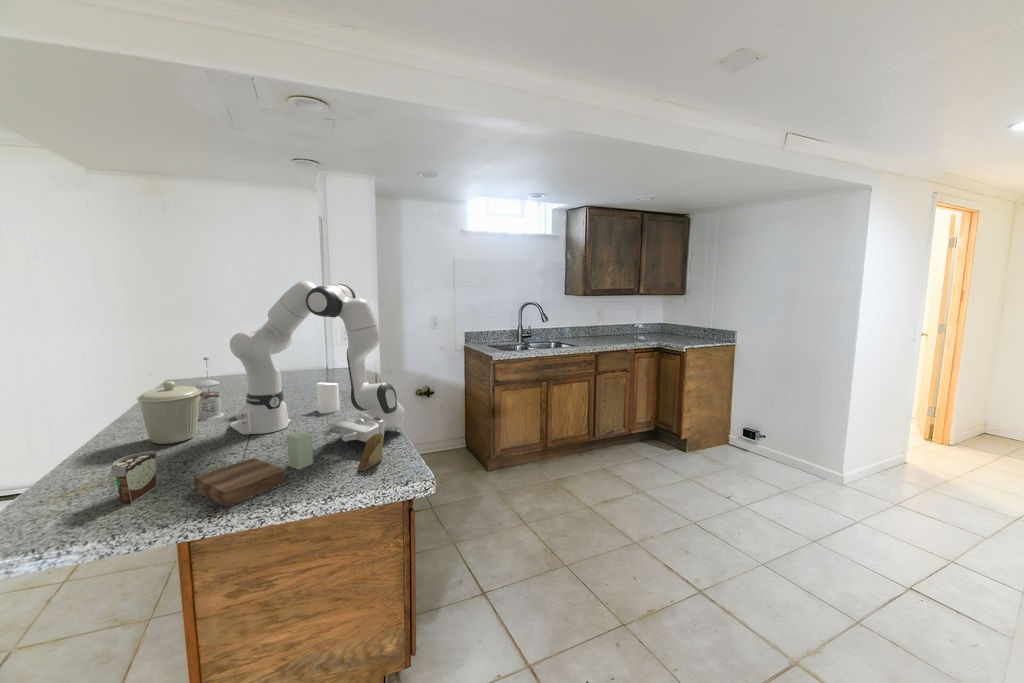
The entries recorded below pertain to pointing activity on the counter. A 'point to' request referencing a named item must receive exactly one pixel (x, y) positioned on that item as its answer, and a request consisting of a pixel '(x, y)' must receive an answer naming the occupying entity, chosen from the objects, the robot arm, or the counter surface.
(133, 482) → the food container
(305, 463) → the sage block
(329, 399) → the white tapered cylinder
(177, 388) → the canister
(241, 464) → the walnut base
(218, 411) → the french press
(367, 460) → the rock
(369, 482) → the counter surface
